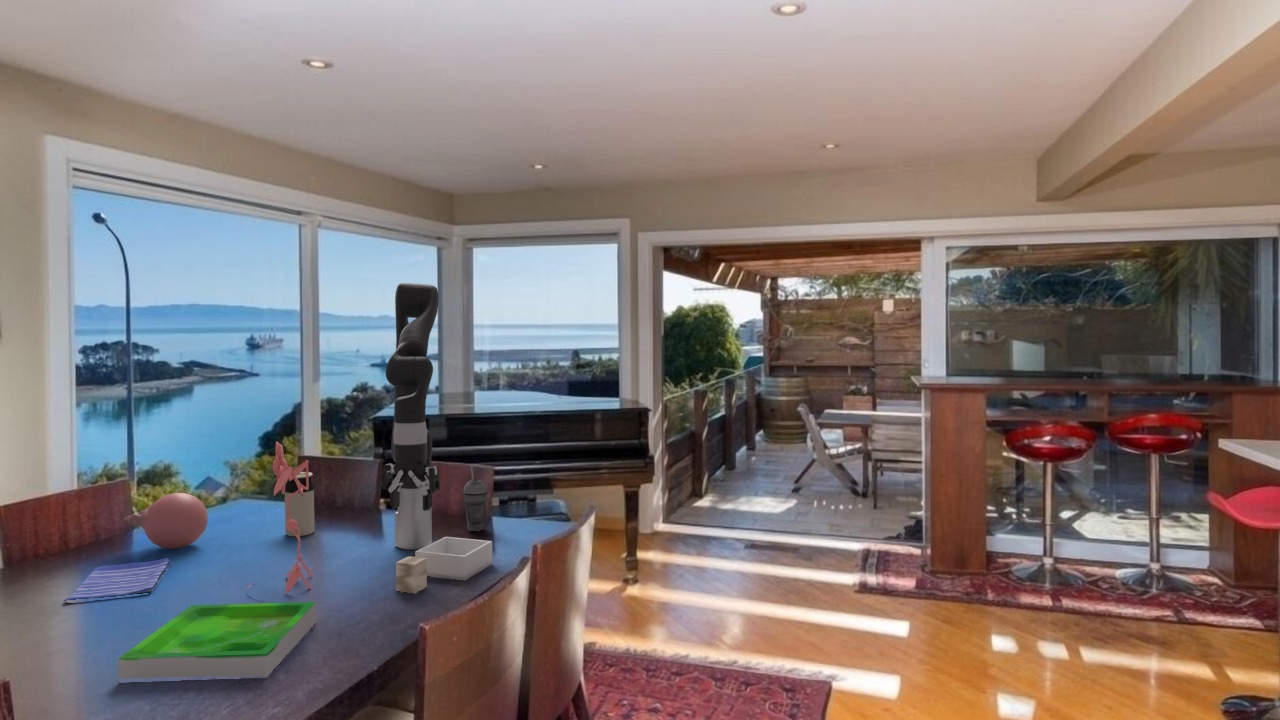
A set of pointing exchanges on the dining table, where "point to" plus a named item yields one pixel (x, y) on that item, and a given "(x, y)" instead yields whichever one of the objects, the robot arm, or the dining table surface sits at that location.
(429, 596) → the dining table surface
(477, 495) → the beverage cup
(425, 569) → the ash block
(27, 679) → the dining table surface
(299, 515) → the travel mug
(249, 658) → the tray
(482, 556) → the grey bin
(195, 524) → the pink water balloon
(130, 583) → the dish towel
